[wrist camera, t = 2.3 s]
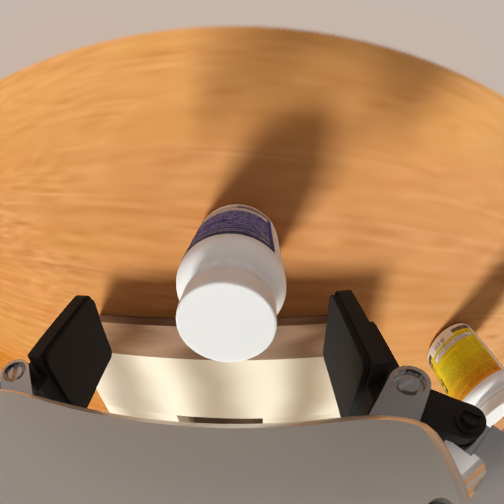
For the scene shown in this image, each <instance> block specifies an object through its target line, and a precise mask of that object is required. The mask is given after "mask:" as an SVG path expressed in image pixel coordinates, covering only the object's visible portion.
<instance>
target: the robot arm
mask: <svg viewBox="0 0 504 504" xmlns="http://www.w3.org/2000/svg"><path fill="white" fill-rule="evenodd" d="M27 356H28V358H29V359H30V361H31V362H30V363H29V364H28V363H27V362H26V361H25V360H22V359H17V360H13V361H11V362H9V363H8V364H7V365H6V366H5V367H4V368H3V369H2V371H1V375H0V504H504V432H502V431H501V430H499V429H498V428H497V427H495V426H494V425H492V426H491V427H488V426H487V425H486V417H485V415H484V413H483V412H482V411H481V410H480V409H479V408H478V407H476V406H474V405H472V404H469V403H466V402H463V401H461V400H458V399H455V398H452V397H450V396H447V395H444V394H442V393H439V392H437V391H434V390H432V389H431V381H430V378H429V376H428V375H427V374H426V373H425V372H424V371H423V370H421V369H419V368H417V367H413V366H401V367H399V365H398V363H397V361H396V360H395V358H394V356H393V354H392V352H391V351H390V349H389V347H388V345H387V343H386V342H385V340H384V338H383V336H382V335H381V333H380V331H379V330H378V328H377V326H376V325H375V323H374V322H369V320H368V318H367V317H366V315H365V313H364V311H363V310H362V308H361V306H360V305H359V303H358V301H357V299H356V298H355V296H354V294H353V293H352V291H351V290H344V291H336V292H335V295H331V296H330V301H329V309H328V317H327V325H326V332H325V339H324V346H323V357H324V361H325V364H326V368H327V371H328V374H329V378H330V381H331V385H332V388H333V392H334V395H335V399H336V402H337V406H338V409H339V413H340V417H341V418H329V419H320V420H310V421H298V422H282V423H261V424H211V423H190V422H176V421H165V420H155V419H147V418H139V417H132V416H125V415H119V414H113V413H108V412H102V411H97V410H92V409H87V407H88V405H89V403H90V401H91V398H92V396H93V394H94V392H95V390H96V388H97V386H98V384H99V382H100V379H101V377H102V375H103V373H104V371H105V369H106V367H107V365H108V363H109V361H110V359H111V357H112V350H111V347H110V344H109V342H108V339H107V337H106V334H105V331H104V328H103V326H102V323H101V320H100V317H99V314H98V311H97V308H96V305H95V302H94V300H92V299H91V298H90V297H89V296H79V295H78V296H75V297H74V299H73V300H72V301H71V302H70V303H69V304H68V306H67V307H66V308H65V309H64V310H63V311H62V313H61V314H60V315H59V316H58V317H57V319H56V320H55V321H54V322H53V323H52V325H51V326H50V327H49V328H48V330H47V331H46V332H45V333H44V335H43V336H42V337H41V338H40V340H39V341H38V342H37V343H36V345H35V346H34V347H33V349H32V350H31V351H30V353H29V354H28V355H27Z"/></svg>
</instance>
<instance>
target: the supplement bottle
mask: <svg viewBox="0 0 504 504" xmlns="http://www.w3.org/2000/svg"><path fill="white" fill-rule="evenodd" d="M428 362H429V364H430V366H431V368H432V369H433V371H434V373H435V375H436V376H437V378H438V380H439V381H440V383H441V385H442V387H443V388H444V390H445V392H446V394H447V395H448V396H450V397H452V398H455V399H458V400H461V401H463V402H466V403H469V404H472V405H474V406H476V407H478V408H479V409H480V410H481V411H482V412H483V413H484V415H485V417H486V425H487V426H488V427H491V426H492V425H494V424H495V423H496V422H497V421H499V420H500V419H501V418H502V417H503V416H504V368H503V367H502V365H501V364H500V363H499V361H498V360H497V359H496V357H495V356H494V355H493V354H492V352H491V351H490V350H489V349H488V347H487V346H486V345H485V344H484V343H483V341H482V340H481V339H480V338H479V337H478V335H477V334H476V333H475V332H474V331H473V330H472V328H471V327H470V326H468V325H467V324H464V323H458V324H454V325H452V326H450V327H448V328H446V329H445V330H444V331H443V332H441V333H440V334H439V335H438V336H437V338H436V339H435V340H434V341H433V343H432V345H431V347H430V349H429V352H428Z"/></svg>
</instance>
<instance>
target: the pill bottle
mask: <svg viewBox="0 0 504 504" xmlns="http://www.w3.org/2000/svg"><path fill="white" fill-rule="evenodd" d="M176 290H177V295H178V298H179V304H178V307H177V311H176V325H177V329H178V332H179V334H180V336H181V338H182V339H183V341H184V342H185V343H186V344H187V345H188V346H189V347H190V348H191V349H192V350H194V351H195V352H196V353H198V354H200V355H202V356H204V357H206V358H209V359H212V360H216V361H221V362H238V361H243V360H247V359H250V358H253V357H255V356H257V355H259V354H260V353H261V352H263V351H264V350H265V349H266V348H267V347H268V346H269V345H270V344H271V342H272V340H273V339H274V336H275V334H276V330H277V314H278V313H279V311H280V310H281V308H282V306H283V303H284V301H285V297H286V276H285V271H284V266H283V262H282V257H281V252H280V247H279V240H278V236H277V233H276V230H275V227H274V225H273V224H272V222H271V221H270V219H269V218H268V217H267V216H266V215H265V214H264V213H262V212H261V211H259V210H257V209H256V208H253V207H251V206H247V205H242V204H232V205H226V206H223V207H220V208H218V209H216V210H215V211H213V212H212V213H210V214H209V215H208V216H207V217H206V218H205V220H204V221H203V222H202V224H201V226H200V227H199V229H198V231H197V233H196V235H195V236H194V238H193V240H192V242H191V244H190V246H189V248H188V249H187V251H186V253H185V255H184V257H183V259H182V261H181V263H180V265H179V268H178V271H177V276H176Z"/></svg>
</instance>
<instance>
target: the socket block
mask: <svg viewBox="0 0 504 504" xmlns="http://www.w3.org/2000/svg"><path fill="white" fill-rule="evenodd" d="M99 317H100V320H101V323H102V326H103V328H104V331H105V334H106V337H107V339H108V342H109V344H110V347H111V350H112V357H111V359H110V361H109V363H108V365H107V367H106V369H105V371H104V373H103V375H102V377H101V379H100V382H99V384H98V386H97V388H96V389H97V391H98V393H99V394H100V396H101V398H102V400H103V402H104V403H105V405H106V407H107V408H108V410H109V412H110V413H113V414H119V415H125V416H132V417H139V418H147V419H155V420H165V421H176V422H190V423H211V424H261V423H282V422H298V421H310V420H320V419H329V418H341V417H340V413H339V409H338V406H337V402H336V399H335V395H334V392H333V388H332V385H331V381H330V378H329V374H328V371H327V368H326V364H325V361H324V357H323V346H324V339H325V332H326V325H327V317H328V316H310V317H289V318H277V330H276V334H275V336H274V339H273V340H272V342H271V344H270V345H269V346H268V347H267V348H266V349H265V350H264V351H263V352H261V353H260V354H259V355H257V356H255V357H253V358H250V359H247V360H243V361H238V362H221V361H216V360H212V359H209V358H206V357H204V356H202V355H200V354H198V353H196V352H195V351H194V350H192V349H191V348H190V347H189V346H188V345H187V344H186V343H185V342H184V341H183V339H182V338H181V336H180V334H179V332H178V329H177V325H176V318H148V317H127V316H111V315H99Z"/></svg>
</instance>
